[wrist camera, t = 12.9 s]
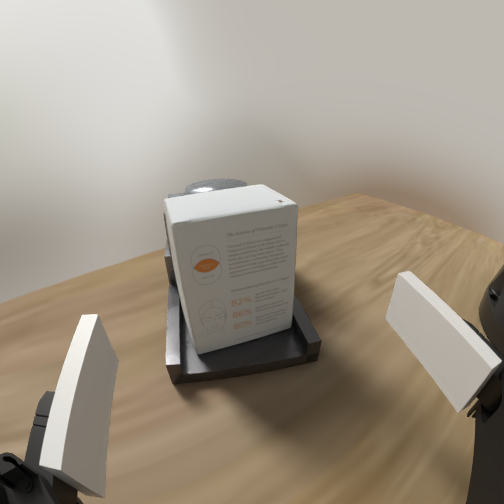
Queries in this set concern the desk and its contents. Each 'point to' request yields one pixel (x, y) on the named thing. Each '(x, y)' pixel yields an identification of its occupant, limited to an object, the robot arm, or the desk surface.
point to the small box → (233, 263)
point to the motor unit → (240, 355)
